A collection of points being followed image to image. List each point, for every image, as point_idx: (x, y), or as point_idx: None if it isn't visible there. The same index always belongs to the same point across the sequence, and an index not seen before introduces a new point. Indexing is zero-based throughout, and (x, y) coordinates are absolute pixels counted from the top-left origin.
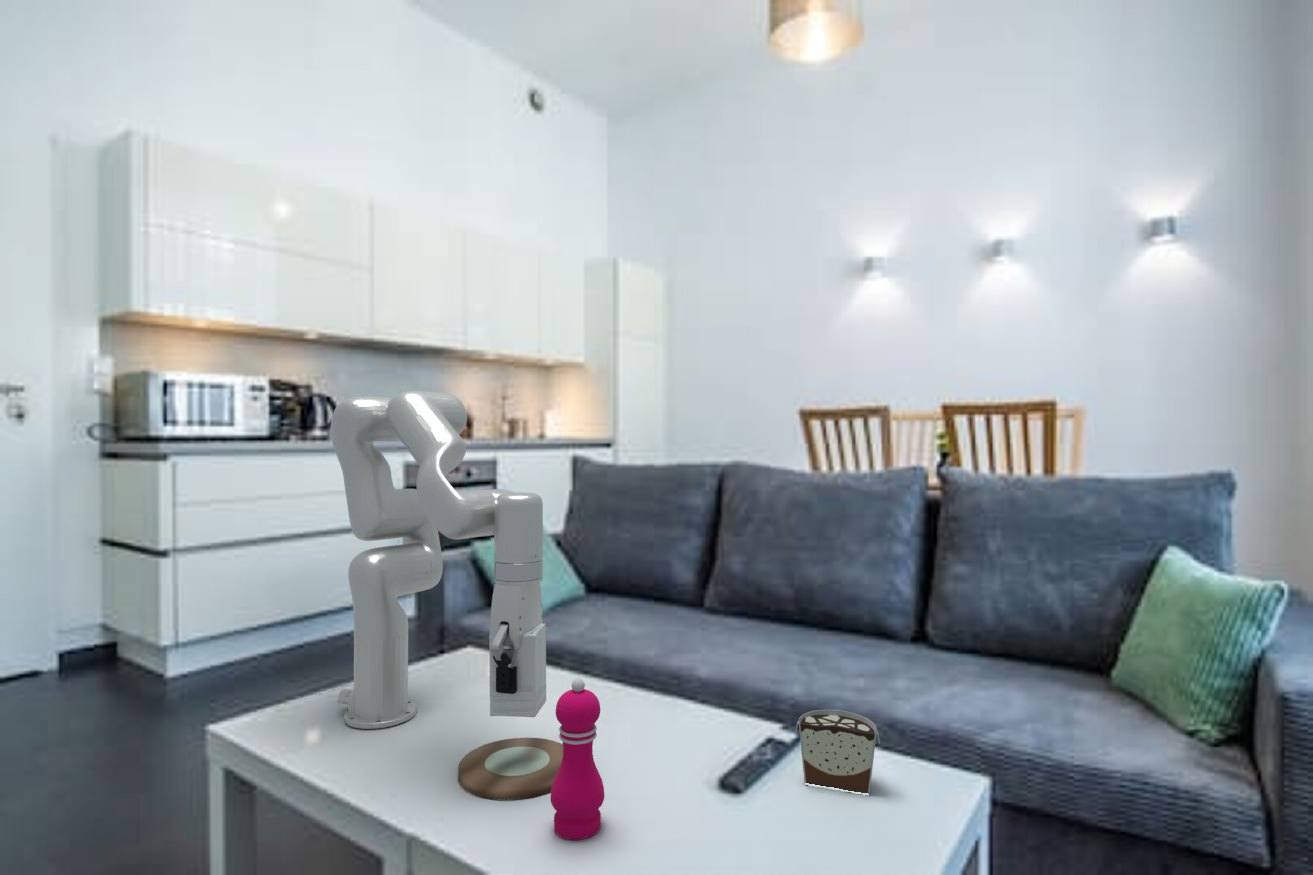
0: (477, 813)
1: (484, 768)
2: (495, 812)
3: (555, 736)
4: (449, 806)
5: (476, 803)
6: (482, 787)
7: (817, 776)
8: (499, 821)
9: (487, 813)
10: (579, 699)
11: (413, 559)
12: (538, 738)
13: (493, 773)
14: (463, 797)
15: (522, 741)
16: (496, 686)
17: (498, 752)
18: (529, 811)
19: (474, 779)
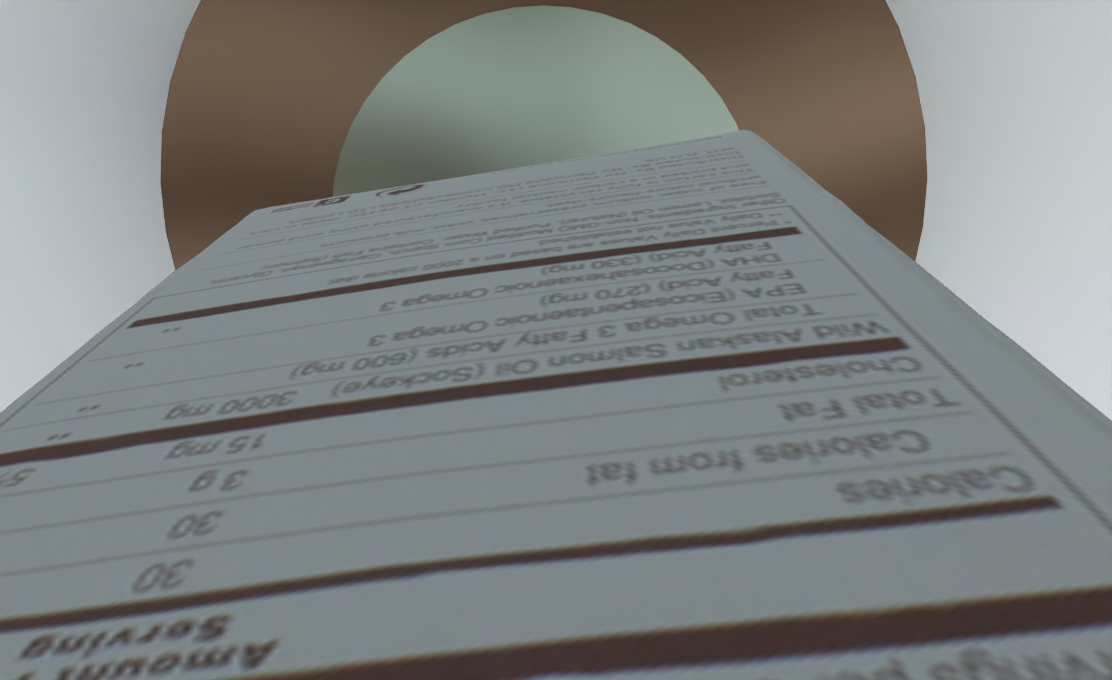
0: (31, 212)
1: (391, 56)
2: (84, 298)
3: (1078, 243)
4: (17, 13)
5: (117, 155)
6: (163, 169)
7: None
8: (21, 354)
9: (56, 263)
10: None
11: None
12: (917, 217)
13: (340, 155)
14: (141, 42)
15: (854, 126)
16: None
17: (627, 46)
18: None
19: (227, 69)
